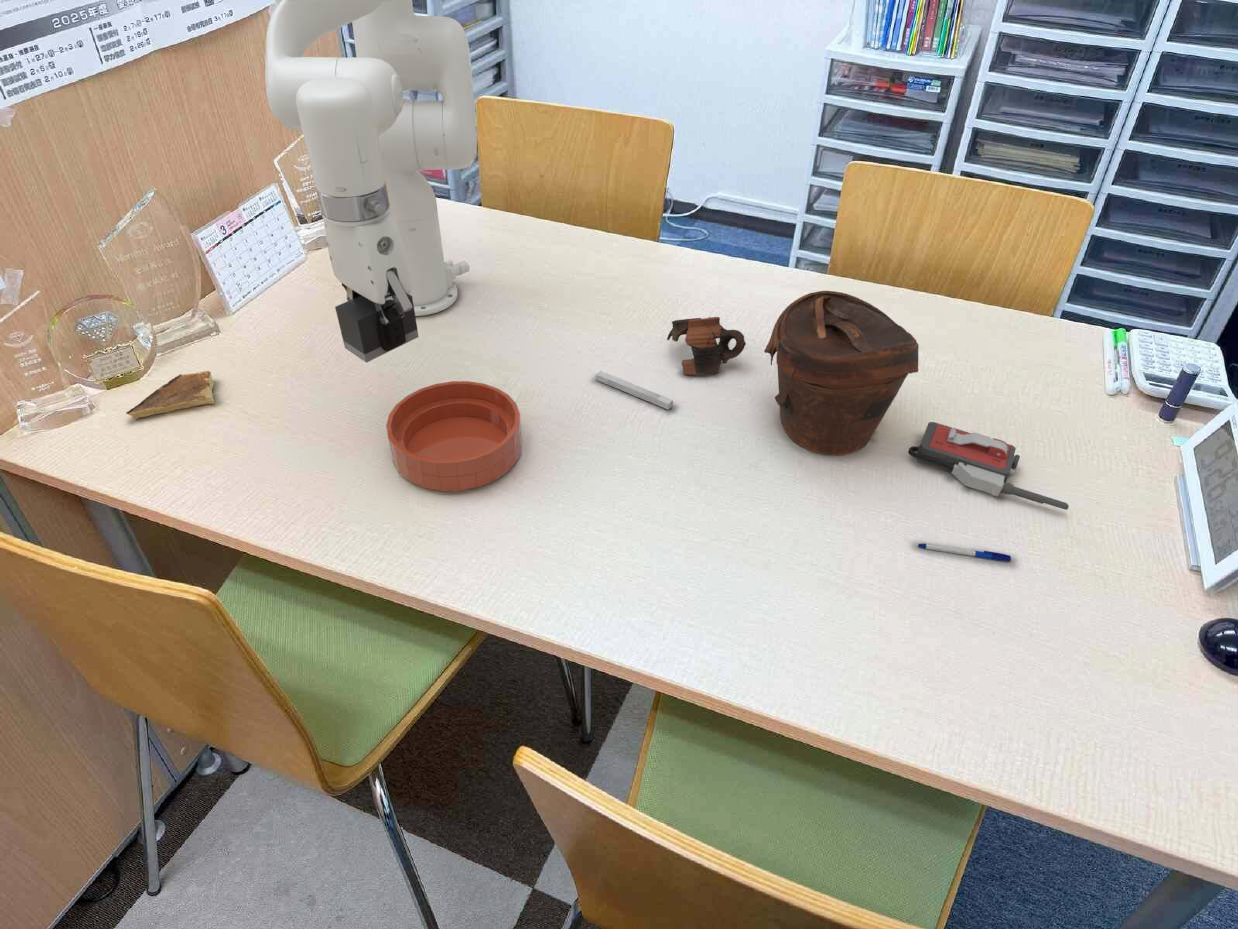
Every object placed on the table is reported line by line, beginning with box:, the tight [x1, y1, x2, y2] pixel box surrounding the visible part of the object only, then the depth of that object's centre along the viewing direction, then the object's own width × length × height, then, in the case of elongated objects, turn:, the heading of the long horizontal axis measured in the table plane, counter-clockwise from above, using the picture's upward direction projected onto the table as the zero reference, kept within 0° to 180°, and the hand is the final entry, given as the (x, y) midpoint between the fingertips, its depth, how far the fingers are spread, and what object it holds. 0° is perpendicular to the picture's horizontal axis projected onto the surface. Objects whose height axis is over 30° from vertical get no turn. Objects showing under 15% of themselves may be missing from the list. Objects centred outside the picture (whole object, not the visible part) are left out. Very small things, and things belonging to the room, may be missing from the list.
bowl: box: [385, 380, 523, 492], centre depth 107 cm, size 17×17×6 cm
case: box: [764, 290, 920, 456], centre depth 109 cm, size 18×20×18 cm
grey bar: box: [596, 370, 674, 411], centre depth 119 cm, size 12×1×1 cm, turn 56°
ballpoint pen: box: [917, 543, 1012, 562], centre depth 97 cm, size 10×1×1 cm, turn 80°
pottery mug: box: [666, 316, 747, 376], centre depth 125 cm, size 12×9×8 cm
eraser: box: [334, 291, 420, 363], centre depth 102 cm, size 8×5×6 cm, turn 138°
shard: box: [125, 370, 215, 420], centre depth 116 cm, size 11×8×2 cm
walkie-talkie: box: [907, 421, 1070, 511], centre depth 106 cm, size 9×4×20 cm
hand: (381, 336), depth 104 cm, fingers closed on eraser, 4 cm apart
